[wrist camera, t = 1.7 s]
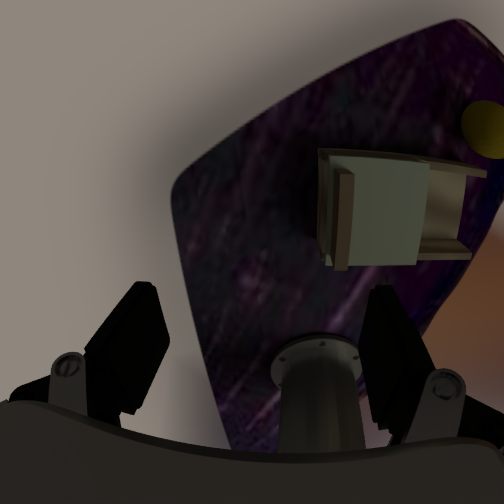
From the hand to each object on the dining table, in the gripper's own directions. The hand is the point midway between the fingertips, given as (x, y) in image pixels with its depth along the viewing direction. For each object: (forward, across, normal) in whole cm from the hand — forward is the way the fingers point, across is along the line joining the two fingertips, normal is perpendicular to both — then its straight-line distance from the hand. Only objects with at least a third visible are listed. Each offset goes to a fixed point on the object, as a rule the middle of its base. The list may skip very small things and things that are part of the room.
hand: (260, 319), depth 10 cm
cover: (+13, -8, 0) cm, 16 cm away
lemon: (+18, -20, -8) cm, 29 cm away
